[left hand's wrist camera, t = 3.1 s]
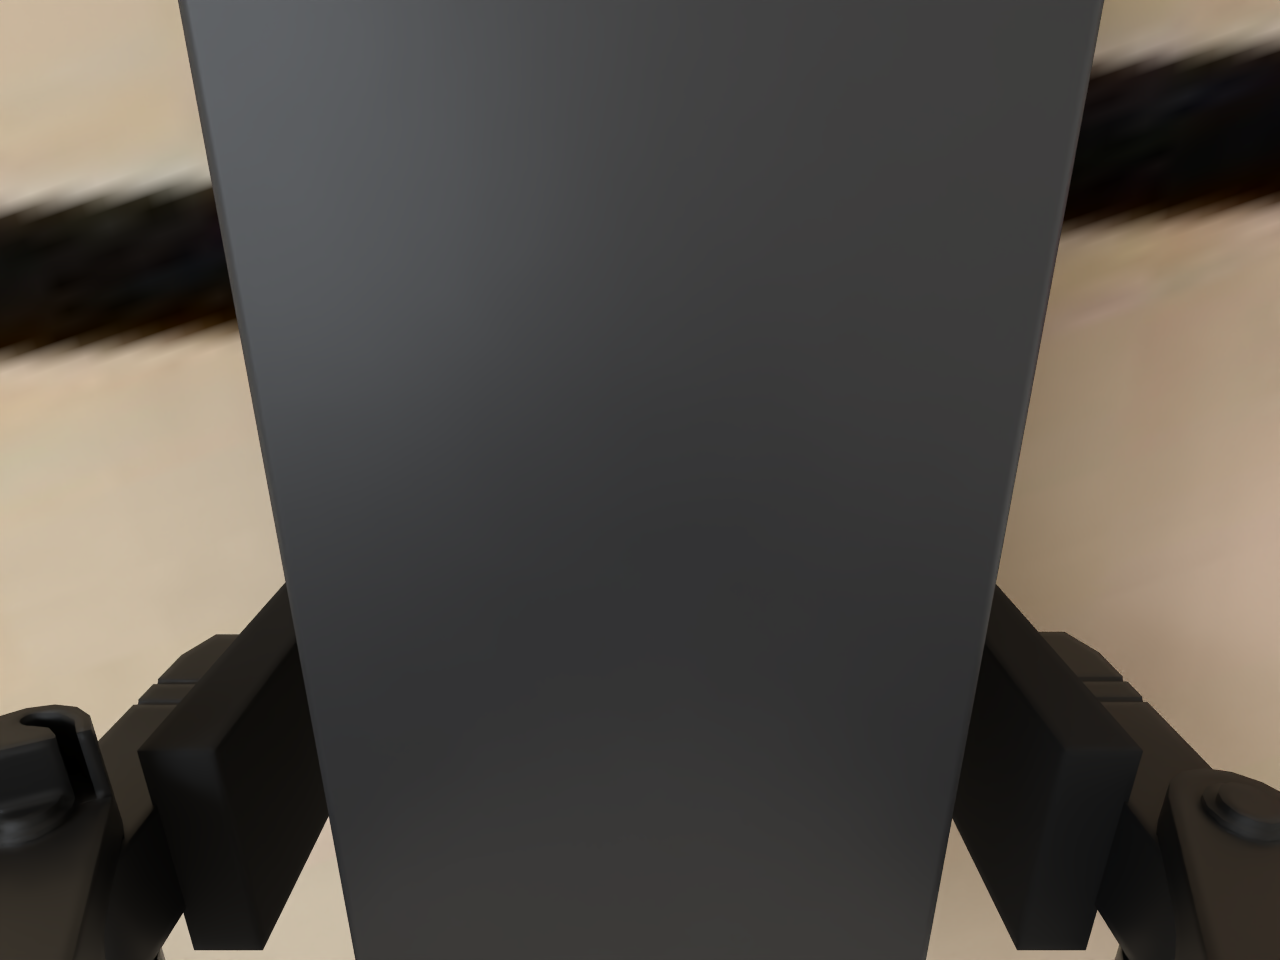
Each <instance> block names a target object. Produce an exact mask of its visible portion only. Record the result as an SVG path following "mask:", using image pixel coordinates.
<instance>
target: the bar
mask: <svg viewBox="0 0 1280 960" xmlns="http://www.w3.org/2000/svg"><path fill="white" fill-rule="evenodd" d="M178 3H179V8H180V14H181V19H182V24H183V30H184V35H185V41H186V46H187V51H188V57H189V62H190V68H191V73H192V78H193V84H194V89H195V95H196V100H197V105H198V111H199V116H200V122H201V127H202V133H203V138H204V143H205V149H206V154H207V160H208V165H209V170H210V176H211V181H212V187H213V192H214V197H215V203H216V208H217V214H218V219H219V224H220V230H221V235H222V241H223V246H224V251H225V257H226V262H227V268H228V273H229V278H230V284H231V289H232V295H233V300H234V305H235V311H236V316H237V322H238V327H239V333H240V338H241V343H242V349H243V354H244V360H245V365H246V370H247V376H248V381H249V387H250V392H251V397H252V403H253V408H254V414H255V419H256V424H257V430H258V435H259V441H260V446H261V451H262V457H263V462H264V468H265V473H266V478H267V484H268V489H269V495H270V500H271V506H272V511H273V516H274V522H275V527H276V533H277V538H278V543H279V549H280V554H281V560H282V565H283V570H284V576H285V581H286V587H287V592H288V597H289V603H290V608H291V614H292V619H293V624H294V630H295V635H296V641H297V646H298V651H299V657H300V662H301V668H302V673H303V678H304V684H305V689H306V695H307V700H308V706H309V711H310V716H311V722H312V727H313V733H314V738H315V743H316V749H317V754H318V760H319V765H320V770H321V776H322V781H323V787H324V792H325V797H326V803H327V808H328V814H329V819H330V824H331V830H332V835H333V841H334V846H335V851H336V857H337V862H338V868H339V873H340V878H341V884H342V889H343V895H344V900H345V906H346V911H347V916H348V922H349V927H350V933H351V938H352V943H353V949H354V954H355V960H926V956H927V951H928V945H929V940H930V934H931V929H932V924H933V918H934V913H935V907H936V902H937V897H938V891H939V886H940V881H941V875H942V870H943V864H944V859H945V854H946V848H947V843H948V838H949V832H950V827H951V821H952V816H953V811H954V805H955V800H956V794H957V789H958V784H959V778H960V773H961V768H962V762H963V757H964V751H965V746H966V741H967V735H968V730H969V724H970V719H971V714H972V708H973V703H974V698H975V692H976V687H977V681H978V676H979V671H980V665H981V660H982V655H983V649H984V644H985V638H986V633H987V628H988V622H989V617H990V611H991V606H992V601H993V595H994V590H995V585H996V579H997V574H998V568H999V563H1000V558H1001V552H1002V547H1003V541H1004V536H1005V531H1006V525H1007V520H1008V515H1009V509H1010V504H1011V498H1012V493H1013V488H1014V482H1015V477H1016V472H1017V466H1018V461H1019V455H1020V450H1021V445H1022V439H1023V434H1024V428H1025V423H1026V418H1027V412H1028V407H1029V402H1030V396H1031V391H1032V385H1033V380H1034V375H1035V369H1036V364H1037V359H1038V353H1039V348H1040V342H1041V337H1042V332H1043V326H1044V321H1045V315H1046V310H1047V305H1048V299H1049V294H1050V289H1051V283H1052V278H1053V272H1054V267H1055V262H1056V256H1057V251H1058V245H1059V240H1060V235H1061V229H1062V224H1063V219H1064V213H1065V208H1066V202H1067V197H1068V192H1069V186H1070V181H1071V176H1072V170H1073V165H1074V159H1075V154H1076V149H1077V143H1078V138H1079V132H1080V127H1081V122H1082V116H1083V111H1084V106H1085V100H1086V95H1087V89H1088V84H1089V79H1090V73H1091V68H1092V63H1093V57H1094V52H1095V46H1096V41H1097V36H1098V30H1099V25H1100V19H1101V14H1102V9H1103V3H1104V0H178Z"/></svg>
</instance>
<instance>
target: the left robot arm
mask: <svg viewBox="0 0 1280 960" xmlns="http://www.w3.org/2000/svg"><path fill="white" fill-rule="evenodd" d="M328 816H329V814H328V808H327V803H326V797H325V792H324V787H323V781H322V776H321V770H320V765H319V760H318V754H317V749H316V743H315V738H314V733H313V727H312V722H311V716H310V711H309V706H308V700H307V695H306V689H305V684H304V678H303V673H302V668H301V662H300V657H299V651H298V646H297V641H296V635H295V630H294V624H293V619H292V614H291V608H290V603H289V597H288V592H287V587H286V582H285V584H284V585H283V586H282V587H281V588H280V589H279V590H278V591H277V593H276V594H275V595H274V596H273V597H272V598H271V599H270V601H269V602H268V603H267V604H266V605H265V606H264V607H263V608H262V610H261V611H260V612H259V613H258V614H257V615H256V616H255V618H254V619H253V620H252V621H251V622H250V623H249V624H248V625H247V627H246V628H245V629H244V630H243V631H242V632H241V633H240V634H239V635H214V636H213V637H211V638H209V639H208V640H206V641H204V642H203V643H201V644H199V645H198V646H196V647H194V648H193V649H191V650H189V651H188V652H186V653H184V654H183V655H181V656H180V657H179V658H178V659H177V660H176V661H175V662H174V663H173V664H172V666H171V667H170V668H169V669H168V670H167V671H166V672H165V673H164V674H163V675H162V676H161V677H160V678H159V679H158V684H153V685H152V686H151V687H150V688H149V689H148V690H147V691H146V692H145V693H144V694H143V696H142V697H141V698H140V699H139V702H138V705H133V706H132V707H131V708H130V709H129V710H128V711H127V712H126V713H125V714H124V715H123V716H122V717H121V718H120V719H119V720H118V721H117V722H116V723H115V724H114V725H113V727H112V728H111V729H110V730H109V731H108V732H107V733H106V734H105V735H104V736H103V737H102V738H101V739H100V740H99V741H98V740H97V737H96V734H95V731H94V727H93V724H92V721H91V718H90V715H88V714H87V713H85V712H84V711H82V710H81V709H79V708H78V707H72V706H63V705H48V706H40V707H32V708H26V709H22V710H19V711H16V712H12V713H9V714H6V715H2V716H0V960H165V957H164V954H163V951H162V948H161V947H162V946H163V944H164V942H165V941H166V939H167V938H168V936H169V934H170V933H171V931H172V930H173V928H174V926H175V925H176V923H177V922H178V920H179V918H180V917H181V915H182V914H183V913H184V916H185V920H186V923H187V927H188V930H189V934H190V937H191V940H192V944H193V947H194V950H263V949H264V947H265V945H266V943H267V941H268V939H269V937H270V934H271V932H272V930H273V928H274V926H275V924H276V922H277V920H278V918H279V916H280V914H281V912H282V910H283V908H284V906H285V904H286V902H287V900H288V898H289V896H290V894H291V892H292V890H293V888H294V886H295V884H296V881H297V879H298V877H299V875H300V873H301V871H302V869H303V867H304V865H305V863H306V861H307V859H308V857H309V855H310V853H311V851H312V849H313V847H314V845H315V843H316V841H317V839H318V837H319V835H320V833H321V831H322V828H323V826H324V824H325V822H326V820H327V818H328ZM952 818H953V820H954V822H955V824H956V826H957V829H958V831H959V833H960V835H961V837H962V839H963V841H964V843H965V845H966V847H967V849H968V851H969V853H970V855H971V857H972V859H973V861H974V863H975V865H976V867H977V869H978V871H979V873H980V875H981V877H982V879H983V882H984V884H985V886H986V888H987V890H988V892H989V894H990V896H991V898H992V900H993V902H994V904H995V906H996V908H997V910H998V912H999V914H1000V916H1001V918H1002V920H1003V922H1004V924H1005V926H1006V928H1007V930H1008V932H1009V935H1010V937H1011V939H1012V941H1013V943H1014V945H1015V947H1016V949H1017V950H1086V947H1087V944H1088V940H1089V937H1090V933H1091V930H1092V927H1093V923H1094V920H1095V916H1096V913H1097V910H1098V911H1099V913H1100V914H1101V916H1102V917H1103V919H1104V921H1105V922H1106V924H1107V925H1108V927H1109V929H1110V930H1111V932H1112V933H1113V935H1114V937H1115V938H1116V940H1117V941H1118V943H1119V948H1118V951H1117V954H1116V957H1115V960H1280V792H1279V791H1278V790H1276V789H1274V788H1272V787H1270V786H1268V785H1266V784H1264V783H1262V782H1260V781H1257V780H1254V779H1251V778H1248V777H1245V776H1242V775H1239V774H1236V773H1233V772H1228V771H1221V770H1214V769H1212V768H1211V767H1210V766H1209V765H1208V764H1207V763H1206V762H1205V761H1204V760H1203V759H1202V758H1201V757H1200V756H1199V755H1198V754H1197V753H1196V752H1195V751H1194V749H1193V748H1192V747H1191V746H1190V745H1189V744H1188V743H1187V742H1186V741H1185V740H1184V739H1183V738H1182V737H1181V736H1180V735H1179V734H1178V733H1177V732H1176V731H1175V730H1174V729H1173V728H1172V727H1171V726H1170V725H1169V724H1168V723H1167V722H1166V721H1165V720H1164V719H1163V718H1162V717H1161V716H1160V715H1159V714H1158V713H1157V711H1156V710H1155V709H1154V708H1153V707H1152V706H1151V705H1150V704H1149V703H1148V702H1143V700H1142V696H1141V695H1140V694H1139V693H1138V692H1137V691H1136V690H1135V689H1134V688H1133V687H1132V686H1131V685H1130V684H1129V683H1128V682H1123V677H1122V676H1121V675H1120V674H1119V672H1118V671H1117V670H1116V669H1115V668H1114V667H1113V666H1112V665H1111V664H1110V663H1109V662H1108V661H1107V660H1106V659H1105V658H1104V657H1103V656H1102V655H1101V654H1100V653H1099V652H1097V651H1096V650H1094V649H1092V648H1091V647H1089V646H1087V645H1086V644H1084V643H1082V642H1080V641H1079V640H1077V639H1075V638H1074V637H1072V636H1070V635H1069V634H1067V633H1065V632H1038V631H1037V630H1036V629H1035V628H1034V627H1033V625H1032V624H1031V623H1030V622H1029V621H1028V620H1027V619H1026V618H1025V616H1024V615H1023V614H1022V613H1021V612H1020V611H1019V610H1018V608H1017V607H1016V606H1015V605H1014V604H1013V603H1012V602H1011V601H1010V599H1009V598H1008V597H1007V596H1006V595H1005V594H1004V593H1003V592H1002V590H1001V589H1000V588H999V587H998V586H997V585H995V590H994V595H993V601H992V606H991V611H990V617H989V622H988V628H987V633H986V638H985V644H984V649H983V655H982V660H981V665H980V671H979V676H978V681H977V687H976V692H975V698H974V703H973V708H972V714H971V719H970V724H969V730H968V735H967V741H966V746H965V751H964V757H963V762H962V768H961V773H960V778H959V784H958V789H957V794H956V800H955V805H954V811H953V816H952Z"/></svg>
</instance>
